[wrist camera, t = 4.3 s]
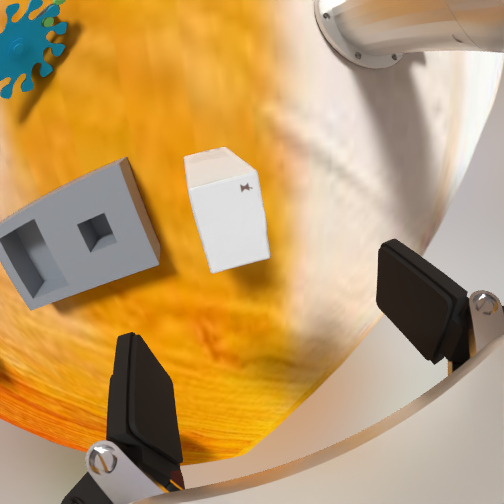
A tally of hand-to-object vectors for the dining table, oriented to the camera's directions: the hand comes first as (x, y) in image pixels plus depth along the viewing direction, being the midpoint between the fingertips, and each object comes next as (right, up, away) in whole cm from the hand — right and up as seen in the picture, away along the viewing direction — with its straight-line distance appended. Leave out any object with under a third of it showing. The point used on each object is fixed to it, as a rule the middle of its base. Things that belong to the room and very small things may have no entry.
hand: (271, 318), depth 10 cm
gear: (-22, +22, +6) cm, 32 cm away
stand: (-19, +5, +15) cm, 25 cm away
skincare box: (-5, +9, +17) cm, 20 cm away
